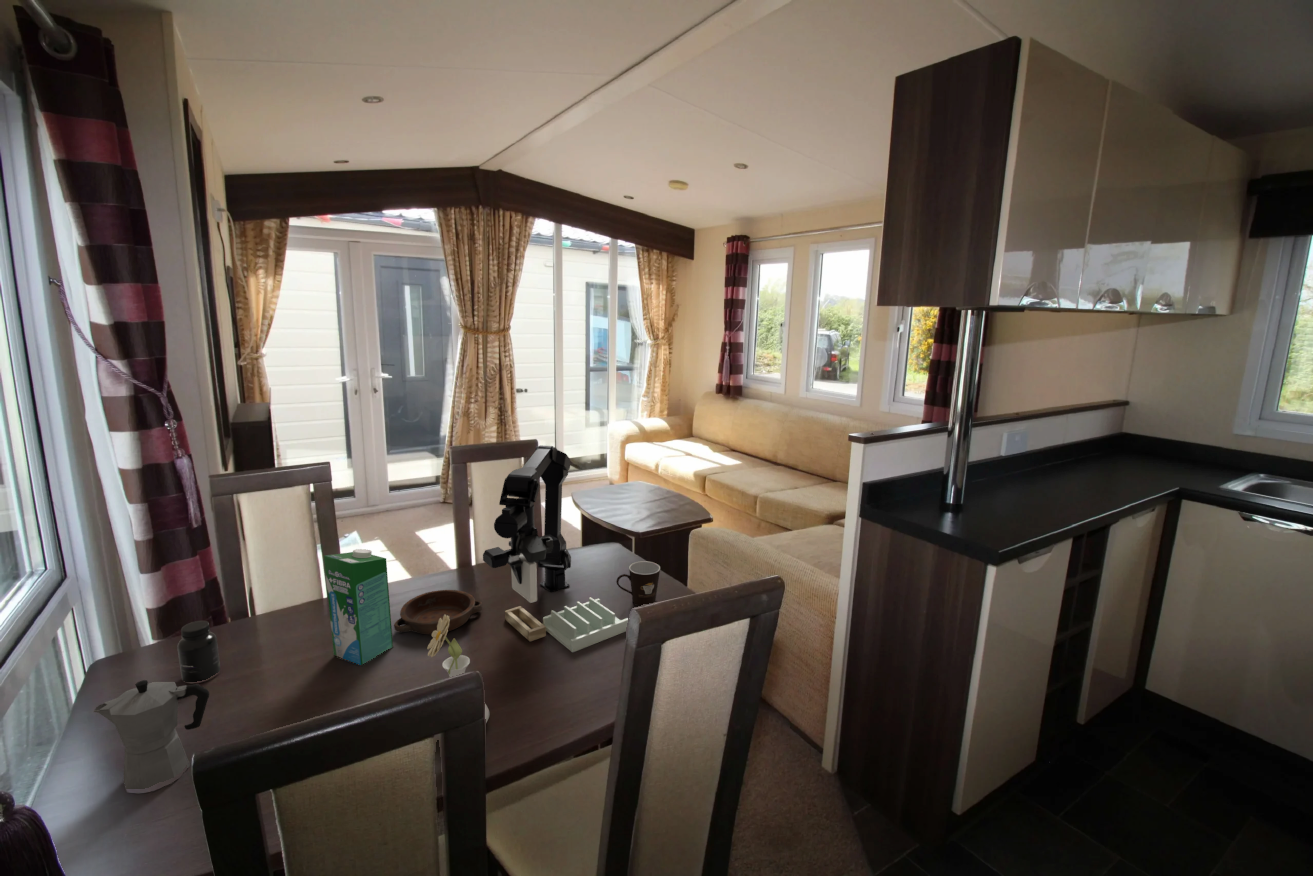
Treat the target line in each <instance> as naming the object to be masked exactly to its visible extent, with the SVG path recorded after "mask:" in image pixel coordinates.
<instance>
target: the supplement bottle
mask: <svg viewBox="0 0 1313 876" xmlns="http://www.w3.org/2000/svg"><path fill="white" fill-rule="evenodd" d="M180 629H181V630H180V633H181V639H180V640H179V641H178V643H177V647H176V648H177V649H176V650H177V654H178V662H179V668H180V675H181V680H182V682H183V681H185V682H197V681H202V680H206V679H208V678H210V677H211V676H213V675H215V674H216V673H218V672H219V671H220V672H221V662H220V661H221V660H220V655H219V654H220V653H219V645H218V638H217V635H216V634H215V633H214V632H212V631H211V628H210V623H209V621H207V620H195V621H192V622H189V623H186V624H185V625H183V626H182V627H181V628H180ZM220 672H219V673H220Z"/></svg>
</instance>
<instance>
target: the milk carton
mask: <svg viewBox="0 0 1313 876" xmlns="http://www.w3.org/2000/svg"><path fill="white" fill-rule="evenodd" d="M372 553H373V551H372V550H370V549H362V548H356V549H353V550H352V551H350V552H343V553H336V554H327V555H323V561H324V571H325V581H326V591H327V592H326V593H327V600H328V601H327V602H328V611H329V621H330V629H331V639H332V648H333V649H332V650H333V651H332V652H333V656H334V655H336V656H339V657H341V658H343V659H346V660H349V661H351V662H354V663H356V664H355V665H357V664H359V665H362V664H364V663H366V662H367V661H369V660H370V661H372V660H374V659H376V658H377V657H378V656H377V655H379V654H380V655H382V654H384V653H385V652H387V651H388V649H389V650H390V649H392V648H393V647H394V645H393V641H394V640H393V630H392V628H393V627H392V618H391V617H392V615H391V605H390V592H389V591H390V590H389V579H388V567H387V565H388V564H387V558H385V557H382V556H378V555H375V554H372ZM386 650H387V651H386ZM384 651H385V652H384ZM383 652H384V653H383ZM381 653H382V654H381ZM380 655H379V656H380ZM376 656H377V657H376ZM341 658H340V659H341ZM373 658H374V659H373ZM343 659H342V660H343ZM371 659H372V660H371ZM346 660H345V661H346ZM349 661H348V662H349ZM370 661H369V662H370ZM351 662H350V663H351ZM354 663H353V664H354ZM367 663H368V662H367ZM367 663H366V664H367ZM359 665H358V666H359ZM364 665H365V664H364ZM362 666H363V665H362Z"/></svg>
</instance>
